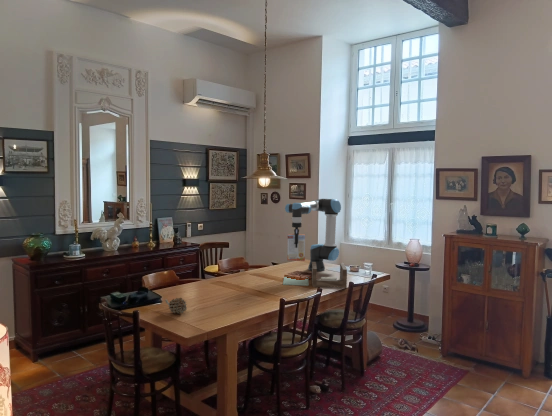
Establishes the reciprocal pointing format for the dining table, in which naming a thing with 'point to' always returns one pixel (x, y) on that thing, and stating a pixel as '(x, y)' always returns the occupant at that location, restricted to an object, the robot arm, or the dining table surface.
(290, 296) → the dining table surface
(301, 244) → the cracker box
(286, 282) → the sage mat
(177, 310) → the pine cone
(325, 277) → the upper offcut
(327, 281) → the walnut rack
